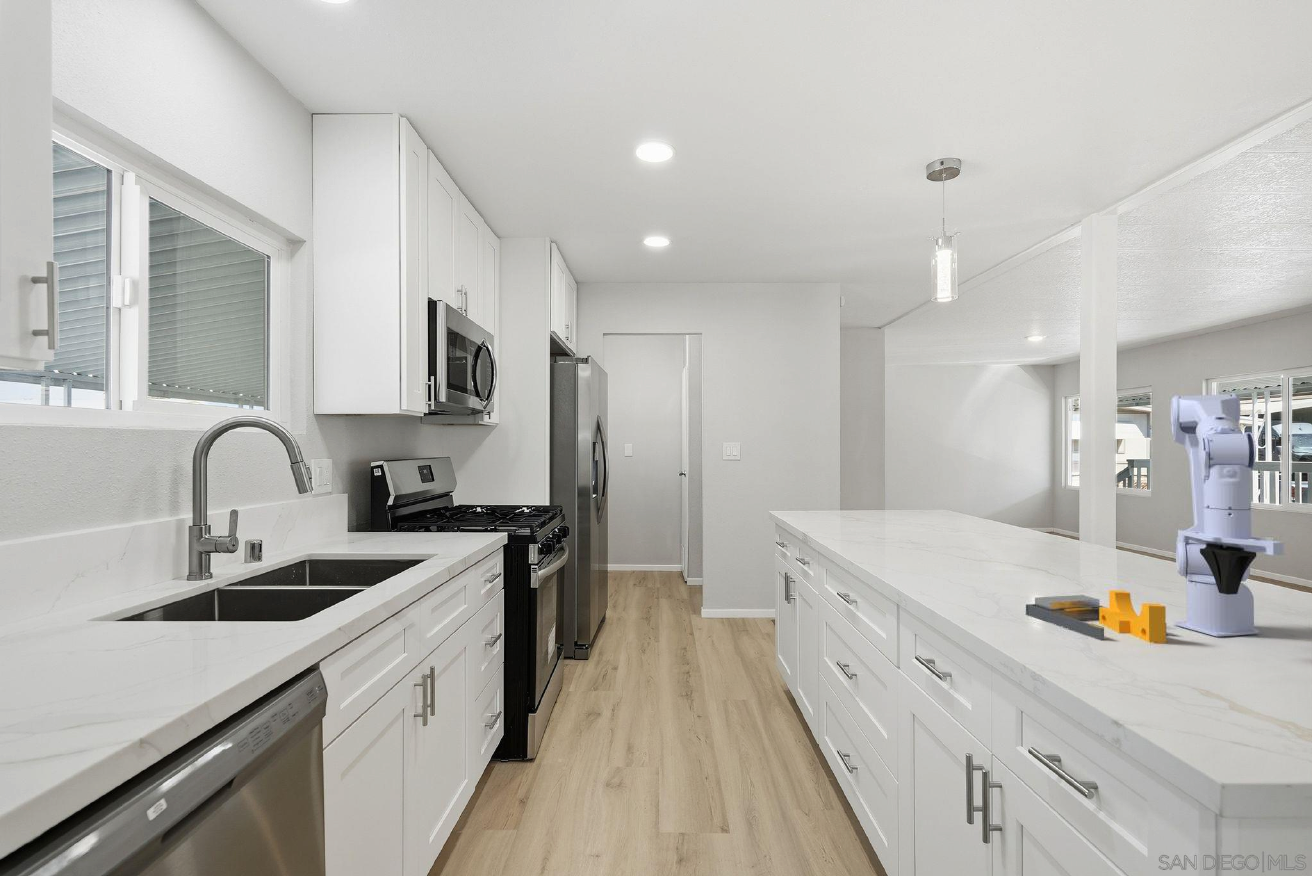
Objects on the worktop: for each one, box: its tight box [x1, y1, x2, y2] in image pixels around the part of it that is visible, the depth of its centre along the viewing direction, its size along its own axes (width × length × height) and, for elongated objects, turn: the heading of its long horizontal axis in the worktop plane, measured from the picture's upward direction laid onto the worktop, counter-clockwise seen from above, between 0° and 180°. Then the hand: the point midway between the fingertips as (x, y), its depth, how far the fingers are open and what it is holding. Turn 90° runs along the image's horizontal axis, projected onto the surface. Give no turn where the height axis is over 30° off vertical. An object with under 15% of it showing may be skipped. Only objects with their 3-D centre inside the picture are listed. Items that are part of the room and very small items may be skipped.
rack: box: [1025, 594, 1168, 641], centre depth 122 cm, size 14×17×4 cm
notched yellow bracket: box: [1098, 589, 1167, 644], centre depth 116 cm, size 12×4×6 cm, turn 173°
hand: (1228, 593), depth 104 cm, fingers closed
